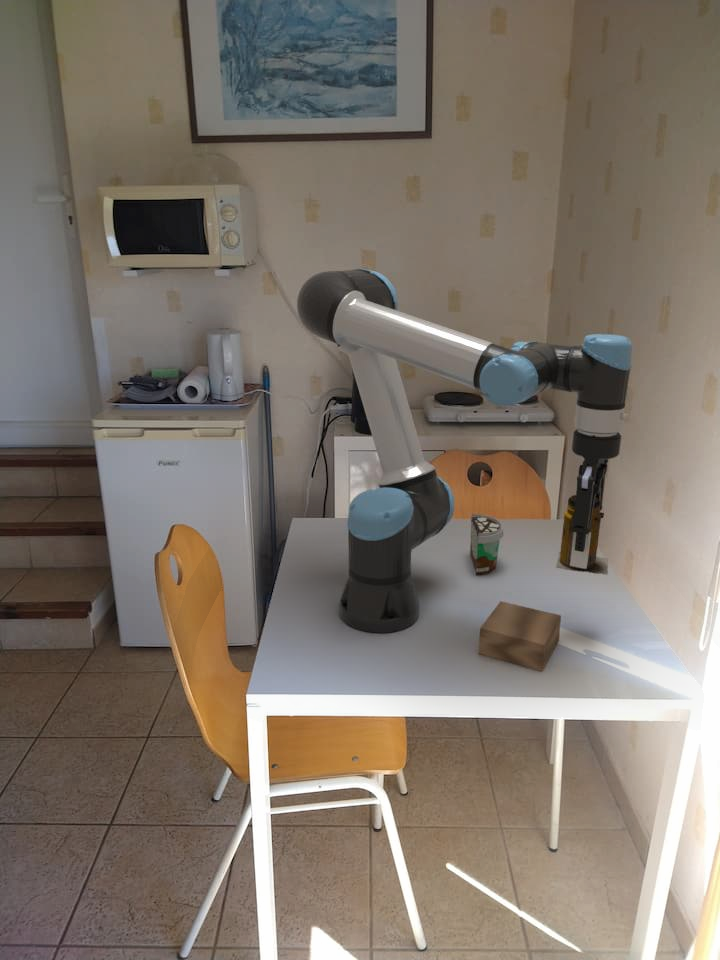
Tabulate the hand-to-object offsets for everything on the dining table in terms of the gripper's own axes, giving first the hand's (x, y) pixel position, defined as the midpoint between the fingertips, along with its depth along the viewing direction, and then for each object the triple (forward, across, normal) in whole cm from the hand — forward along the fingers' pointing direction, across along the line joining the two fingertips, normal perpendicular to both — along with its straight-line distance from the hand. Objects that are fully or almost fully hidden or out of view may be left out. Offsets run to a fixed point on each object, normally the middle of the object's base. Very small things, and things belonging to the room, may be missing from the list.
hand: (582, 558), depth 125 cm
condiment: (+1, 0, 0) cm, 1 cm away
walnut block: (+15, -10, +7) cm, 19 cm away
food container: (+15, +20, +23) cm, 34 cm away
